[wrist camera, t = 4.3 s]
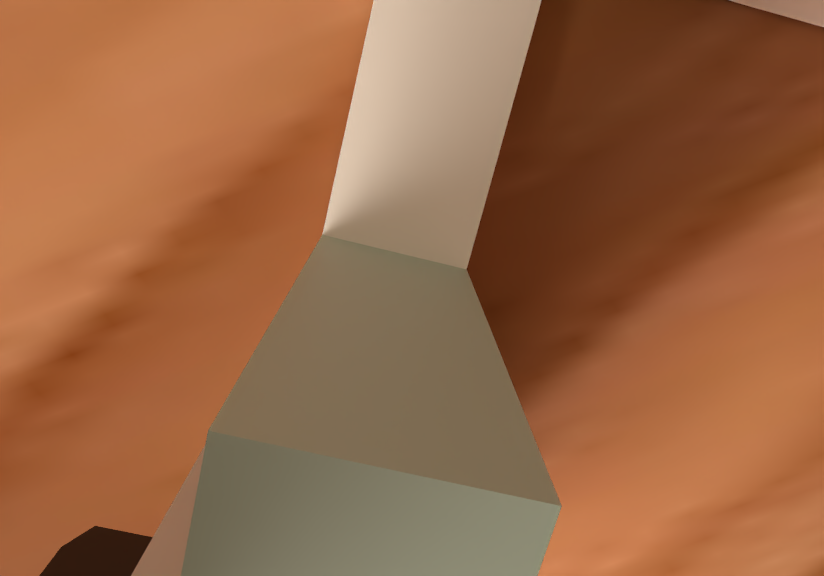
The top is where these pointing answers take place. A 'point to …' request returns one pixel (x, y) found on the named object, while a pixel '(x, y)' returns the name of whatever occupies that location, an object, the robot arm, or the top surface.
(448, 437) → the light grey frame
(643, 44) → the top surface
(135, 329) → the top surface
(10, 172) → the top surface
